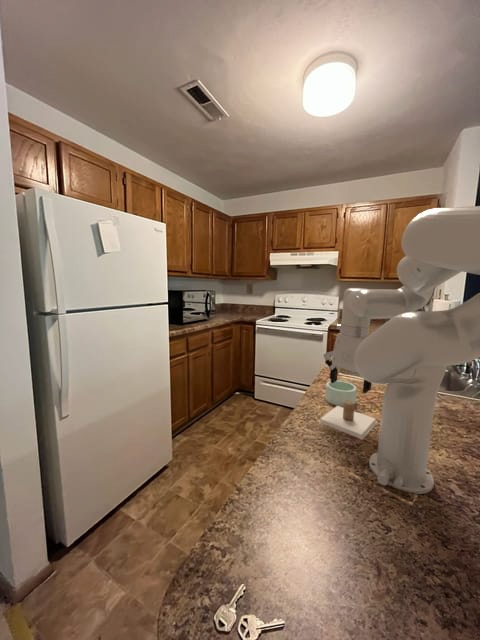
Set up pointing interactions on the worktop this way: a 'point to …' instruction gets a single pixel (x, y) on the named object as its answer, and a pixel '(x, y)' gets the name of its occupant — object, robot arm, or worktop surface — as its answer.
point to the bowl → (340, 392)
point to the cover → (348, 419)
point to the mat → (351, 434)
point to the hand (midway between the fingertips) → (349, 386)
